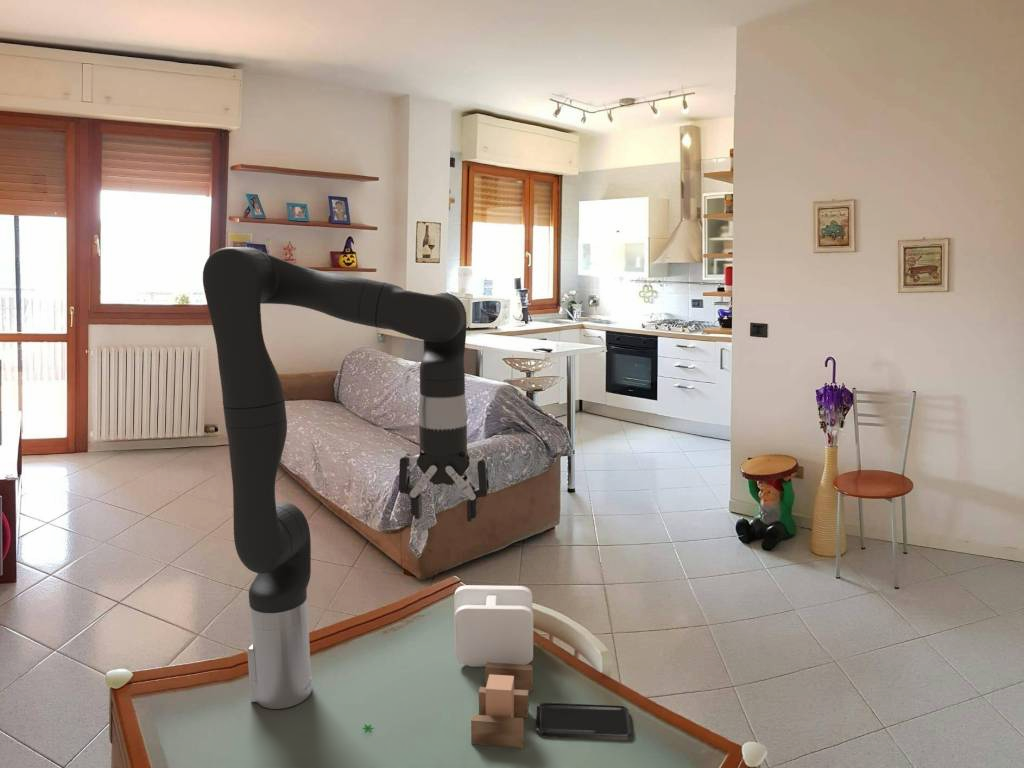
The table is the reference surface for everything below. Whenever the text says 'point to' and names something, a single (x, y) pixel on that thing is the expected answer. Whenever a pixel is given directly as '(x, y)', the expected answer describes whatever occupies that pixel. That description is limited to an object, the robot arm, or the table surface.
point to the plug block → (500, 696)
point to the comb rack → (503, 728)
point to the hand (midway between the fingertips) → (444, 518)
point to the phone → (583, 721)
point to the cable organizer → (493, 625)
